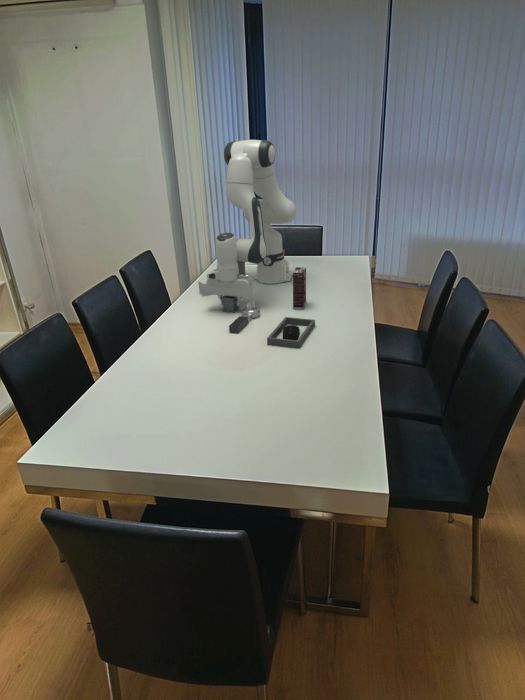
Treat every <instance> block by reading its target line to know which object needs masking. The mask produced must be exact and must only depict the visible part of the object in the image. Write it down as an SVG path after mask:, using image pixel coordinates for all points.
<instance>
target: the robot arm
mask: <svg viewBox="0 0 525 700" xmlns="http://www.w3.org/2000/svg"><path fill="white" fill-rule="evenodd" d="M223 158H224V161H225V164H226V166H227V169H226V177H225V178H226V179H225V180H226V181H225V194H226V198H227V200H228V201H229V203H230V204H231V205H232V206H234V207H236V208H238V209H239V210H241V211H242V212H243V216H244V218H245V219H246V220H247V221H248V222H249V223H250V230H251V231H250V232H251V238H246V237H245V238H244V237H238V236H235V234H234V233H231V232H224V233H220V234H218V235H217V236H216V238H215V248H214V249H215V258H216V261H217V262H216V269H212V270H211V271H209V272H208V273H206V279H207V281H206V290H207V293H208V294H212V295H214V296H217V297H218V300H219V301H220V303H221V305H222V297H223V296H235V297H237V299H238V301H236V302H235V304H236V305H235V306H239V307H240V306H241V300H242V299H243V298H247V299H248V298H250V297H252V296H253V295H254V290H253V279H252V277H251V276H250V275H248V274H245V275H240V274H239V268H238V263H237V261H242V262H245V263H250V264H255V265H257V267H256V275H255V276H254V279H255V280H256V281H258V282H259V283H261V284H267V285H268V284H269V285H270V284H272V285H273V284H276V285H277V284H281V283H285V282H290V281H291V280H292V279H293V272H294V270H290V267H289V261H287V260H286V258H285V254H286V253H285V252H286V250H285V249H283V237H282V234H281V233H280V232H279V231H277V230H276V229H274V227H273V226H272V224H275V225H277V224H279V225H283V224H288V223H292V222H293V221H294V220H295V218H296V217H297V207H296V204H295V203H294V202H293V201H292V200H290V199H289V198H287V197H286V196H285V194H284V193H283V192H282V190H281V189H280V187H279V184H278V181H277V177H276V176H277V175H276V173H275V172H276V171H275V168H274V163H275V159H276V147H275V146H274V144H273V143H272V142H271V141H269V140H267V139H263V140H260V139H248V140H247V139H245V140H237V141H236V140H233V141H230V142H227V144H226V145H225V147H224V150H223ZM256 195H257V197H259V198H257V197H256ZM212 295H211V296H212ZM222 306H223V305H222Z"/></svg>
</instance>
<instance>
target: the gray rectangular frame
mask: <svg viewBox="0 0 525 700" xmlns="http://www.w3.org/2000/svg"><path fill="white" fill-rule="evenodd" d="M288 325H295V326H304V327H306V328H305V329H304V330H303V332H302V333H301V335H299V338H298V340H288V339H283V338H279V337H278V336H279V335H280V333H281V332H283V329H284V327H285V326H288ZM315 327H316V320H315V319H311V318H302V317H300V318H299V317H289V316H285V317H284V318H283V319H282V321H280V322H279V323H278V325H277V326H276V327H275V328H274V330H273V331H272V332H271V333H270V334H269V335H268V336H267V338H266V342H267V343H266V344H267V346H275V347H276V346H277V347H283V346H284V348H293V349H300V348H301V347H302V346H303V344H304V342H305V341H306V340H307V338H308V336H309V335H310V334H311V332H312V331H313V330H314V328H315Z"/></svg>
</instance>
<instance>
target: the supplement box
mask: <svg viewBox="0 0 525 700" xmlns="http://www.w3.org/2000/svg"><path fill="white" fill-rule="evenodd" d="M306 304H307V268H306V267H301V266H300V267H298V266H297V267H295V268H294V270H293V275H292V309H293V310H304V309H305V305H306Z"/></svg>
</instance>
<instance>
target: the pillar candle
mask: <svg viewBox="0 0 525 700" xmlns="http://www.w3.org/2000/svg"><path fill="white" fill-rule="evenodd" d="M237 263H238V268H239V274H240V275H246V262H242V261H237Z"/></svg>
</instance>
